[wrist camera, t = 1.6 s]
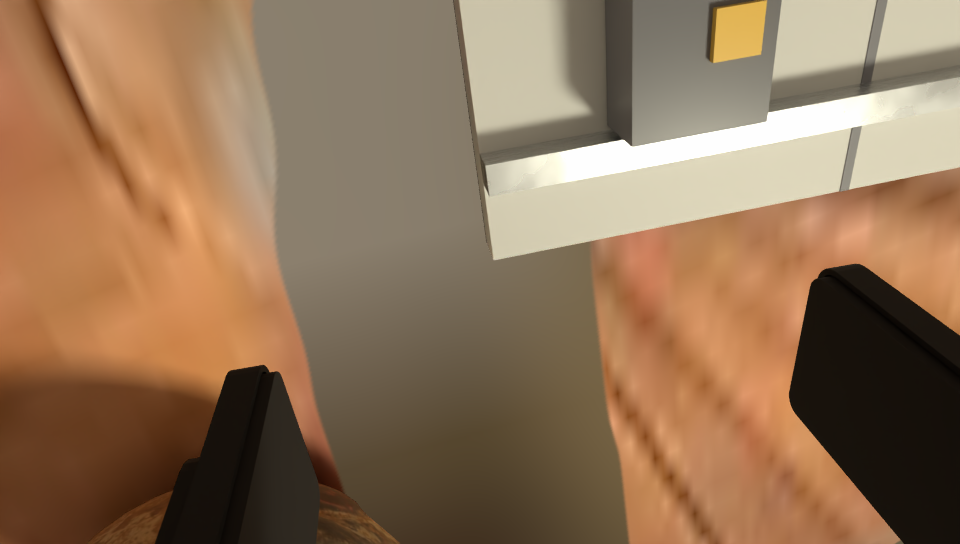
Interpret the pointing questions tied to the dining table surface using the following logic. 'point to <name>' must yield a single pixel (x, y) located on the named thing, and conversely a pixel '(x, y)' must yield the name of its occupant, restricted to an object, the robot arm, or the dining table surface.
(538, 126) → the wall panel
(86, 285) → the dining table surface
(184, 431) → the dining table surface
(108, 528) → the ceramic vessel
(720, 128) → the block
